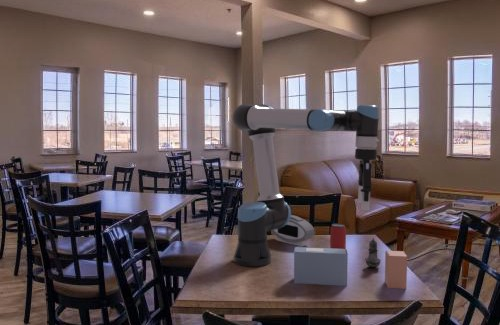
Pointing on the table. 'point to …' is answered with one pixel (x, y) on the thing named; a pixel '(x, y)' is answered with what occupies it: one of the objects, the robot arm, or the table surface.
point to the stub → (395, 269)
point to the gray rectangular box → (320, 266)
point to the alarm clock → (295, 232)
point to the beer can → (338, 236)
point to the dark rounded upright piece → (372, 256)
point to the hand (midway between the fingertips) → (363, 206)
